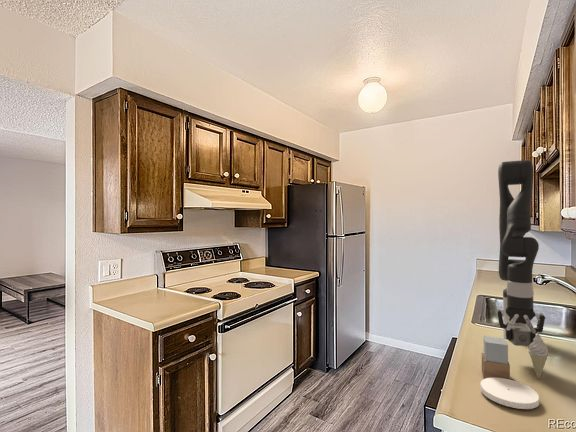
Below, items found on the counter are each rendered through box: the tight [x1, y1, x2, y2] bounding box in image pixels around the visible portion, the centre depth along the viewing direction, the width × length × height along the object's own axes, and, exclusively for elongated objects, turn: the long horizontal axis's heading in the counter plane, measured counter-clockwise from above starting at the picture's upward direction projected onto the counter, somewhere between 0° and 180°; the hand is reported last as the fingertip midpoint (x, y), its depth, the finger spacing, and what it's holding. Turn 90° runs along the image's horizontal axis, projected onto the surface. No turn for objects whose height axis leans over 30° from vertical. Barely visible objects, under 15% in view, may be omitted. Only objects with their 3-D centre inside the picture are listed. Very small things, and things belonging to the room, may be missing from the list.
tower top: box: [483, 335, 509, 364], centre depth 105 cm, size 6×6×6 cm
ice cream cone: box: [528, 332, 549, 380], centre depth 104 cm, size 5×5×15 cm
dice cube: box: [509, 326, 531, 347], centre depth 115 cm, size 5×5×5 cm
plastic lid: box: [479, 377, 540, 410], centre depth 93 cm, size 14×14×2 cm
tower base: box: [481, 352, 511, 380], centre depth 105 cm, size 7×7×6 cm
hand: (520, 341), depth 114 cm, fingers closed on dice cube, 5 cm apart
